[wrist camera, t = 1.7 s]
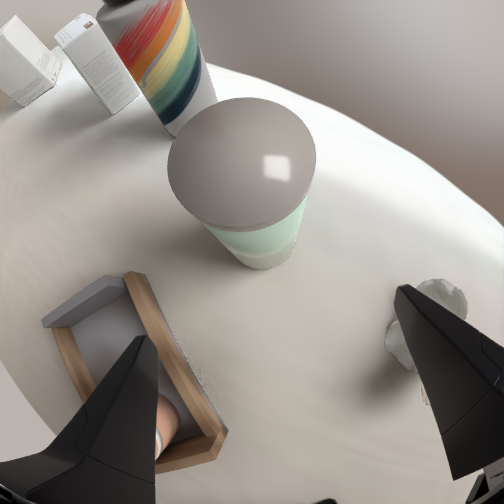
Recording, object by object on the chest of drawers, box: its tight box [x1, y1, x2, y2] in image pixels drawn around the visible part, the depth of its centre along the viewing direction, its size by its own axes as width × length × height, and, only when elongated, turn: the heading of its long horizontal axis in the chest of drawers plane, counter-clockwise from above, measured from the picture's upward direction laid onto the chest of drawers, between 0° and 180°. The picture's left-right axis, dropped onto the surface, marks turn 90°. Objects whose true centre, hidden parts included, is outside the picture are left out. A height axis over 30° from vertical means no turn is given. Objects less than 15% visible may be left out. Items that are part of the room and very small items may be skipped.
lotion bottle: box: [96, 0, 218, 137], centre depth 15 cm, size 6×6×20 cm
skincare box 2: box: [53, 13, 140, 115], centre depth 21 cm, size 6×4×12 cm
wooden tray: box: [52, 271, 228, 474], centre depth 19 cm, size 15×11×5 cm
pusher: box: [41, 275, 129, 328], centre depth 20 cm, size 1×8×4 cm, turn 119°
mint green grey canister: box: [167, 98, 316, 270], centre depth 16 cm, size 6×6×13 cm
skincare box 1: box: [0, 15, 61, 107], centre depth 23 cm, size 8×7×16 cm
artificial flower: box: [385, 279, 468, 406], centre depth 15 cm, size 9×22×10 cm, turn 54°
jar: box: [155, 393, 181, 460], centre depth 18 cm, size 5×5×5 cm
